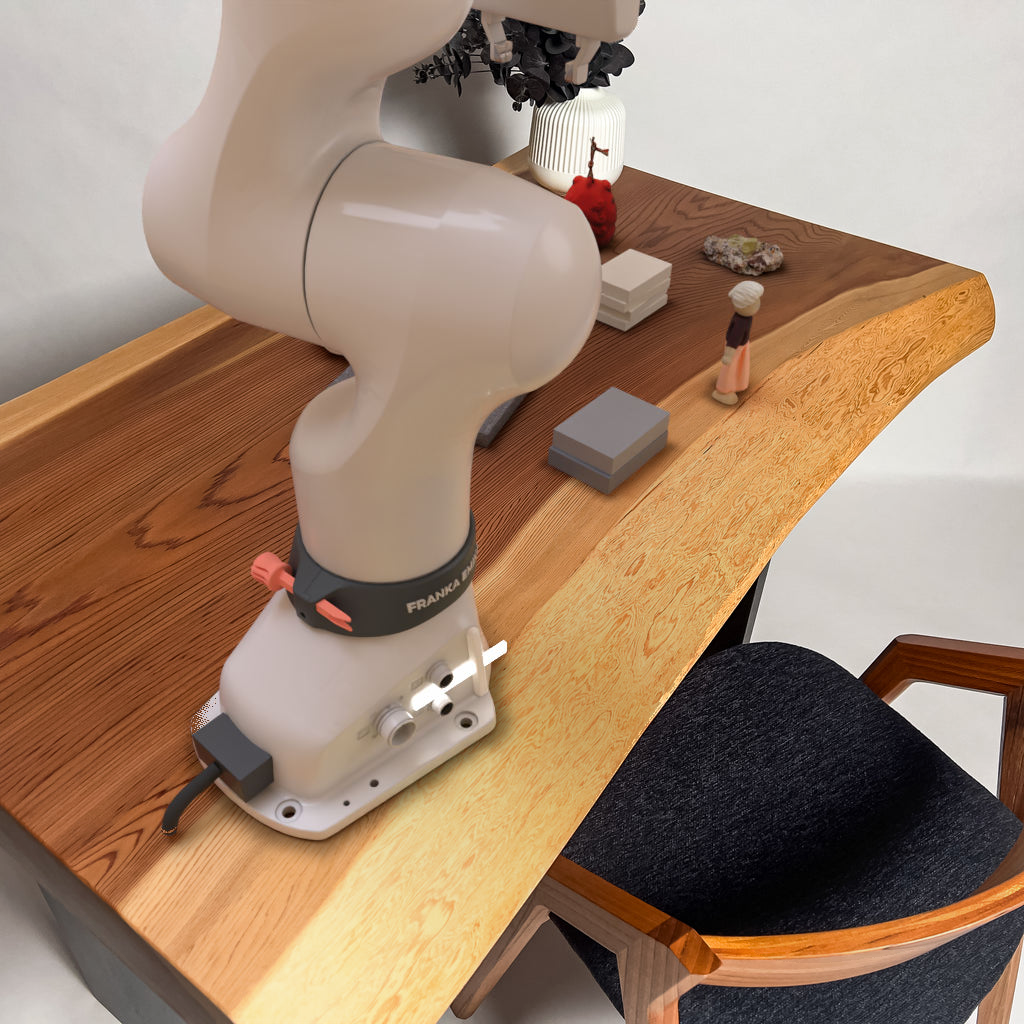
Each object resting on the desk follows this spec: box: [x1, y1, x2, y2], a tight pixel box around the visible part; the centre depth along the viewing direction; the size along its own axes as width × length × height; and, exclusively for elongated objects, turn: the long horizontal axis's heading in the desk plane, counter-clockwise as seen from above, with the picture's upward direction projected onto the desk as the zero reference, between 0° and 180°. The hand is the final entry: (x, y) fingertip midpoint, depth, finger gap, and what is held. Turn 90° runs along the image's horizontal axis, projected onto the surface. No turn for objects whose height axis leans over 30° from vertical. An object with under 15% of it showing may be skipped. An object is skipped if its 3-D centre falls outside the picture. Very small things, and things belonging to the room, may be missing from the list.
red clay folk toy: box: [563, 136, 618, 250], centre depth 123 cm, size 8×7×15 cm
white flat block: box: [601, 248, 673, 303], centre depth 112 cm, size 9×6×2 cm, turn 141°
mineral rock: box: [701, 233, 785, 277], centre depth 125 cm, size 11×4×8 cm
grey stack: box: [547, 386, 671, 496], centre depth 92 cm, size 10×7×4 cm
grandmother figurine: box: [711, 280, 765, 406], centre depth 98 cm, size 8×4×13 cm, turn 168°
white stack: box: [596, 277, 671, 332], centre depth 114 cm, size 10×7×4 cm
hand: (537, 71), depth 96 cm, fingers open, 8 cm apart
